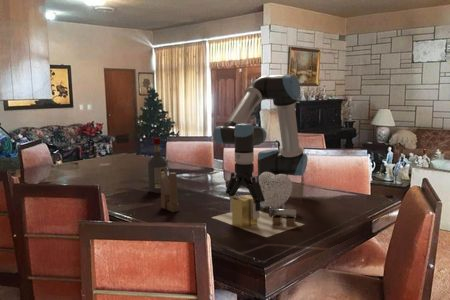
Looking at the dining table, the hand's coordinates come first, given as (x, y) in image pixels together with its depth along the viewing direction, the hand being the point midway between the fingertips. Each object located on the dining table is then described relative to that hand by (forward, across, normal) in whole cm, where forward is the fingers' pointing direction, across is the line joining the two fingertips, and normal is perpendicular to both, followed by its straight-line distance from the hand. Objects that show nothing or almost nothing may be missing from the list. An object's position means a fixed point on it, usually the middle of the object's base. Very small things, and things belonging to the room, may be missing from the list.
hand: (244, 214), depth 160 cm
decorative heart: (+5, -9, +27) cm, 29 cm away
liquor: (+5, -78, +6) cm, 78 cm away
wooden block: (+5, -42, -9) cm, 43 cm away
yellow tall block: (+4, 0, 0) cm, 4 cm away
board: (+5, -1, +7) cm, 9 cm away
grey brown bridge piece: (+4, +10, +12) cm, 16 cm away
